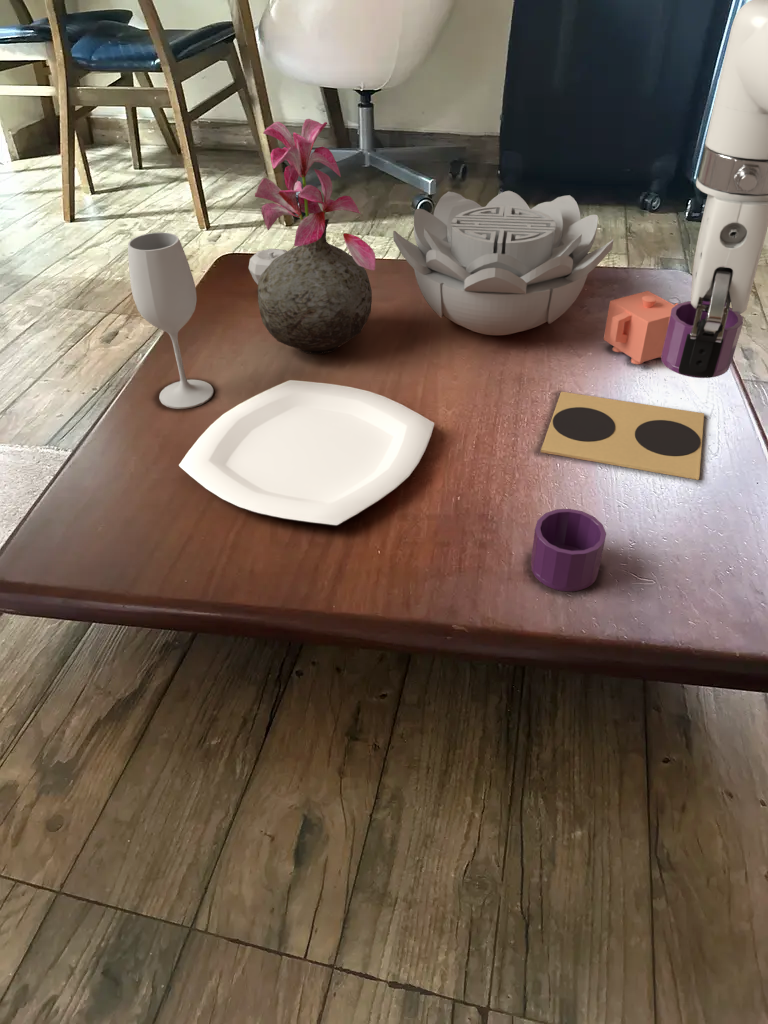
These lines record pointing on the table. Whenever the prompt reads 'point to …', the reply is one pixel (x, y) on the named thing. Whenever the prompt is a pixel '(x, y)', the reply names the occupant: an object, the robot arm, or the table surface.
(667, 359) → the plum dish
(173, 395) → the wineglass
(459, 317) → the decorative bowl
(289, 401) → the plate
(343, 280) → the vase
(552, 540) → the plum dish
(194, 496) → the table surface
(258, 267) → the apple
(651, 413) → the placemat
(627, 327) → the pink cube teapot
